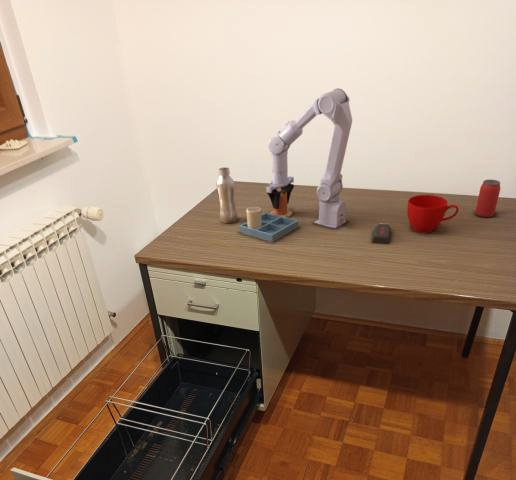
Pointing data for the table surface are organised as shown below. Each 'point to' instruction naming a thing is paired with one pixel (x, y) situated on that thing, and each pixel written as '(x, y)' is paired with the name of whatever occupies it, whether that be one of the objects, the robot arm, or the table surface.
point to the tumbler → (282, 204)
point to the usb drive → (381, 233)
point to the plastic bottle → (226, 196)
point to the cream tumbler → (254, 217)
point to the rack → (270, 227)
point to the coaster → (283, 215)
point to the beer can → (488, 198)
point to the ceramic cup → (427, 212)
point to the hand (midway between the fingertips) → (280, 205)
